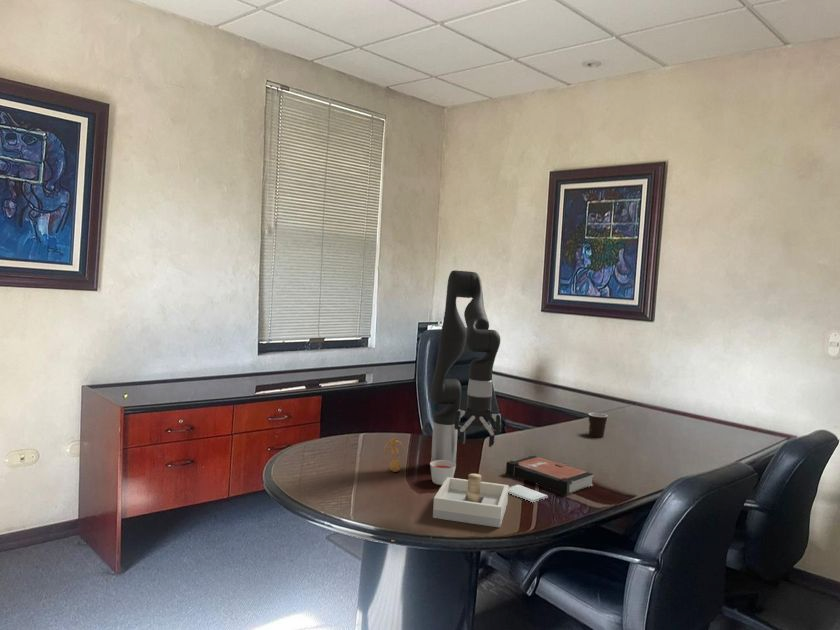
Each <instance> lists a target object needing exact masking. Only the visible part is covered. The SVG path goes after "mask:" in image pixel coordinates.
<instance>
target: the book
mask: <svg viewBox="0 0 840 630" xmlns="http://www.w3.org/2000/svg"><path fill="white" fill-rule="evenodd" d="M505 465H506V466H505V475H507V474H509V475H508V476H510V475H512V476H513V477H514V476H516V477H515V478H517V477H519V478H518V479H520V478H522V479H521V480H523V479H525V480H524V481H526V480H527V481H526V482H529V481H531V482H533V483H532V484H534V483H537V484H539V485H538V486H540V485H542V486H541V487H543V486H545V487H544V488H546V487H547V488H546V489H549V488H551V489H550V490H552V489H553V490H552V491H555V490H556V491H555V492H557V491H558V492H560V493H559V494H561V493H562V494H561V495H564V494H565V495H564V496H568V495H567V494H569V495H571V494H570V493H572V494H574V493H577V492H580V491H582V490H581V489H583V490H585V489H588V488H590V486H591V487H594V484H593V477H595V473H592V472H588V471H586V470H582V469H578V468H575V467H572V466H568V464H566V463H563V462H556V461H552V460H549V459H545V458H542V457H539V456H536V455H533V456H529V457H525V458H521V459H518V460H509V461H506V464H505ZM512 476H511V477H512ZM531 482H530V483H531ZM537 484H536V485H537ZM587 487H588V488H587ZM584 488H585V489H584ZM579 490H580V491H579ZM576 491H577V492H576ZM573 492H574V493H573Z"/></svg>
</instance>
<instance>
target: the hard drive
mask: <svg viewBox="0 0 840 630" xmlns="http://www.w3.org/2000/svg"><path fill="white" fill-rule="evenodd" d="M508 493H509V494H508V495H510V494H512V495H511V496H513V495H514V496H513V497H515V496H517V497H516V498H518V497H520V498H523V499H525V500H524V501H526V500H528V501H530V502H529V503H531V502H532V504H534V503H533V502H535V503H537V502H536V501H538V502H540V501H539V500H541V499H543V500H546V499H548V498H549V495H547V494H546V493H542V492H540V491H537V490H534V489H531V488H529V487H525V486H523V485H520V484H515V485H512V486H509V488H508ZM520 498H519V499H520ZM545 498H546V499H545ZM523 499H522V500H523ZM528 501H527V502H528ZM541 501H542V500H541Z"/></svg>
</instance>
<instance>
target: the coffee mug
mask: <svg viewBox="0 0 840 630" xmlns="http://www.w3.org/2000/svg"><path fill="white" fill-rule="evenodd" d="M587 415H588V434H589V436H590V437H591V438H596V439H597V438H598V439H602V438H604V437H605V430H606V426H607V420H608V414H605V413H602V412H601V413H599V412H589V413H588V414H587Z"/></svg>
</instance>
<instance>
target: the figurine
mask: <svg viewBox="0 0 840 630" xmlns="http://www.w3.org/2000/svg"><path fill="white" fill-rule="evenodd" d="M389 444H390V445H391V446H390V447H391V448H390V453H391V460H392V461H391V462H390V463H389V469H390V471H392V472H393V473H397V472H399V471H400V470H401V466H402V465H401V463H400V461H399V460H398V455H399V451H398V447H397V444H400V446H401V447H402V448H403V450H404V451H406V450H405V449H406V448H405V447H404V445H403V444H402V442H401V441H399V440H397V439H396V437H393V438H390V440H388V441H387V442H386V443H385V444H384V448H383V453H386V448H387V445H389ZM394 454H395V459H394Z"/></svg>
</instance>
